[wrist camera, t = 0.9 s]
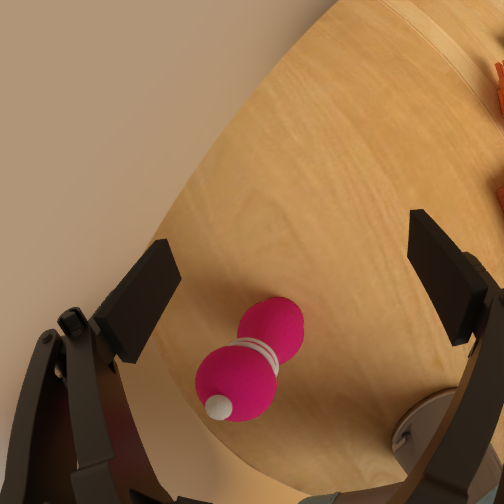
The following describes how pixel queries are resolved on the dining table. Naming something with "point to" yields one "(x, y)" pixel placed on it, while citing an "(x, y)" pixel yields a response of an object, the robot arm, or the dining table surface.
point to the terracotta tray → (501, 196)
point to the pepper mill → (250, 361)
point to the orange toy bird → (501, 84)
